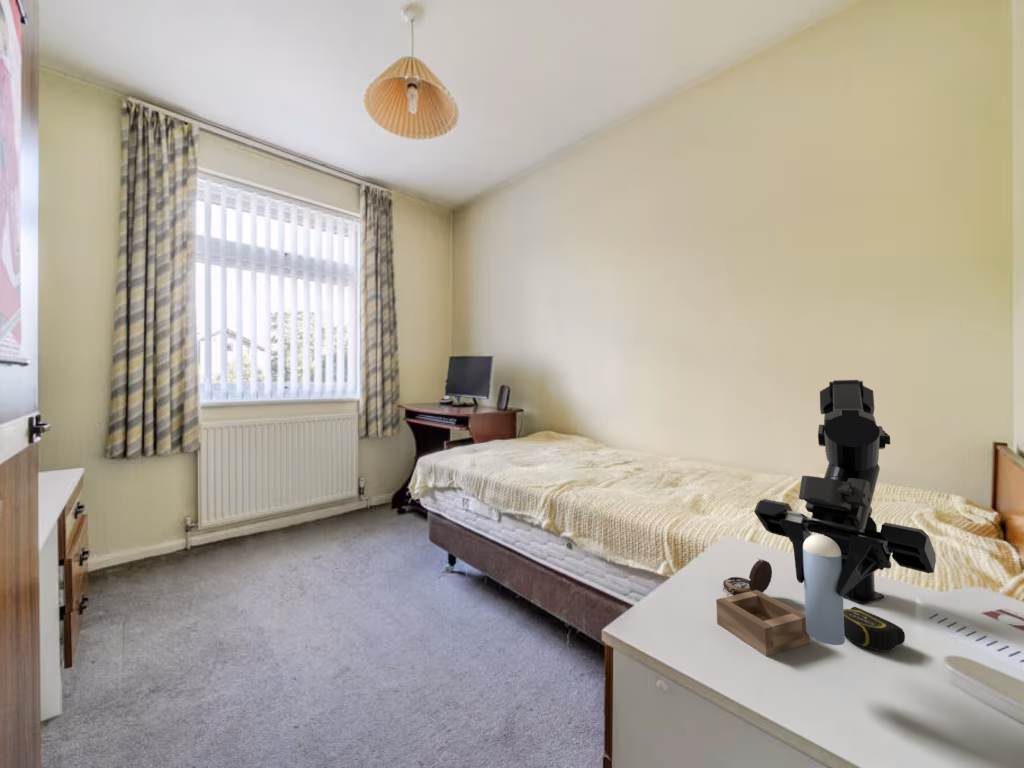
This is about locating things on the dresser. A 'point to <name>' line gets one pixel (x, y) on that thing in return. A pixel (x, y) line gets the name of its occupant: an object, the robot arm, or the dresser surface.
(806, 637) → the open wooden box
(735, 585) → the compass
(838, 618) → the dome-topped blue cylinder
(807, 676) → the dresser surface
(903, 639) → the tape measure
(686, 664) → the dresser surface
